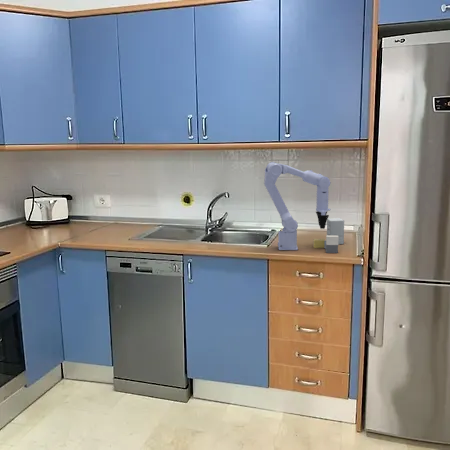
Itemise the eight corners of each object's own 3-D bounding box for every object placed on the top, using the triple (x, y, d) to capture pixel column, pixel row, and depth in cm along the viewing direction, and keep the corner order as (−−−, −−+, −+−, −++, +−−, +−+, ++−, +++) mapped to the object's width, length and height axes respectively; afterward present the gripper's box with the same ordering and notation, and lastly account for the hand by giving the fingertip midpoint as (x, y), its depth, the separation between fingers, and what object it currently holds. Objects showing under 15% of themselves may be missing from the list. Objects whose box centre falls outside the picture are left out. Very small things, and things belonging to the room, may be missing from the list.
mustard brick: (313, 248, 236) (314, 240, 235) (313, 246, 239) (313, 238, 238) (325, 248, 235) (325, 240, 234) (324, 246, 238) (324, 238, 237)
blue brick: (327, 249, 232) (327, 241, 231) (324, 248, 235) (324, 240, 234) (337, 248, 233) (337, 241, 232) (334, 247, 236) (334, 239, 235)
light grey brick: (326, 244, 225) (326, 236, 224) (326, 243, 228) (326, 235, 227) (338, 244, 224) (338, 236, 223) (337, 243, 227) (337, 235, 226)
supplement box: (340, 241, 249) (340, 217, 246) (343, 244, 241) (344, 220, 239) (326, 241, 248) (326, 218, 246) (329, 244, 241) (330, 220, 239)
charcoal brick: (326, 253, 226) (326, 244, 225) (325, 251, 228) (325, 243, 228) (337, 253, 225) (338, 244, 224) (337, 251, 228) (337, 243, 227)
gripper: (332, 202, 224) (331, 230, 227) (329, 198, 239) (328, 224, 241) (317, 202, 225) (316, 229, 228) (315, 198, 239) (314, 224, 242)
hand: (321, 227), depth 235 cm, fingers open, 7 cm apart
